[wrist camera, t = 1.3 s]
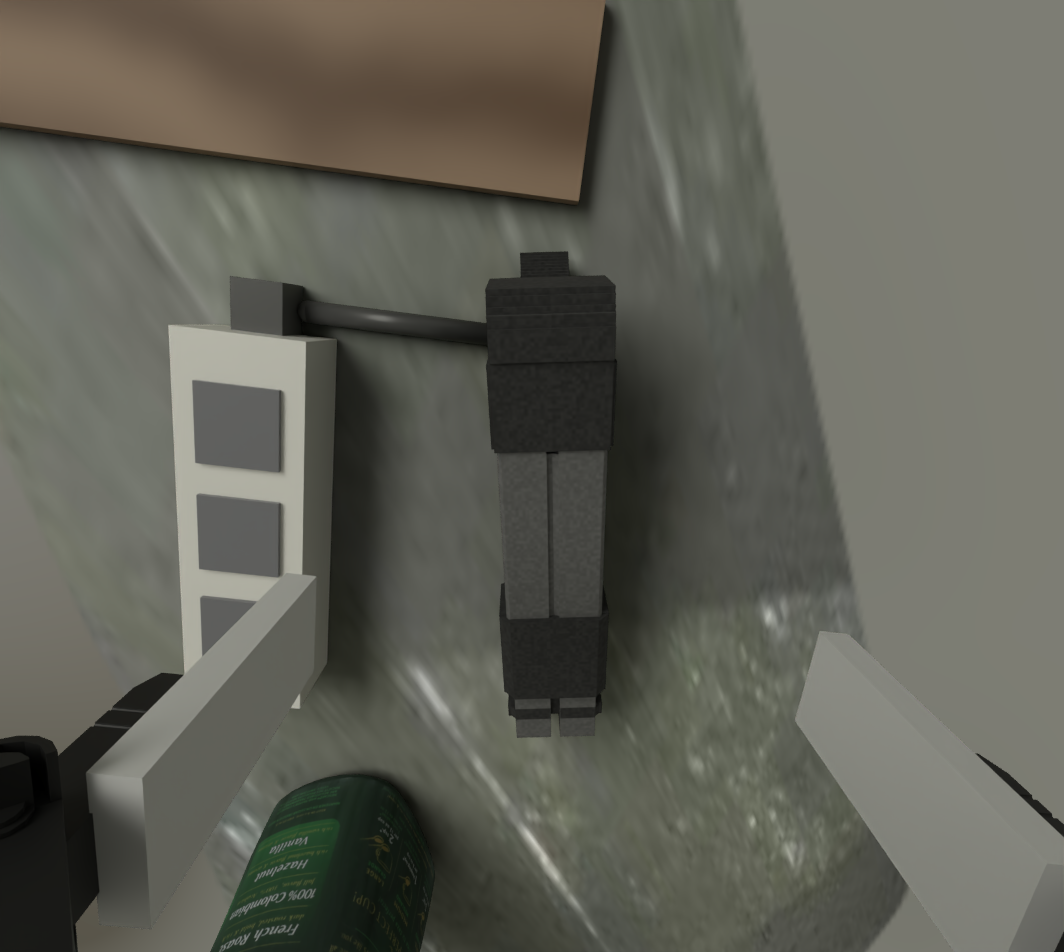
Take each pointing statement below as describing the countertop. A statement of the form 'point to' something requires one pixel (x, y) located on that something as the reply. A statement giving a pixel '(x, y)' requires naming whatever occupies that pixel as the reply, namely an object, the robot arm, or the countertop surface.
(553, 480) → the gun
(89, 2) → the walnut board
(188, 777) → the robot arm
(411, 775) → the countertop surface
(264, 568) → the power strip
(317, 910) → the coffee jar
